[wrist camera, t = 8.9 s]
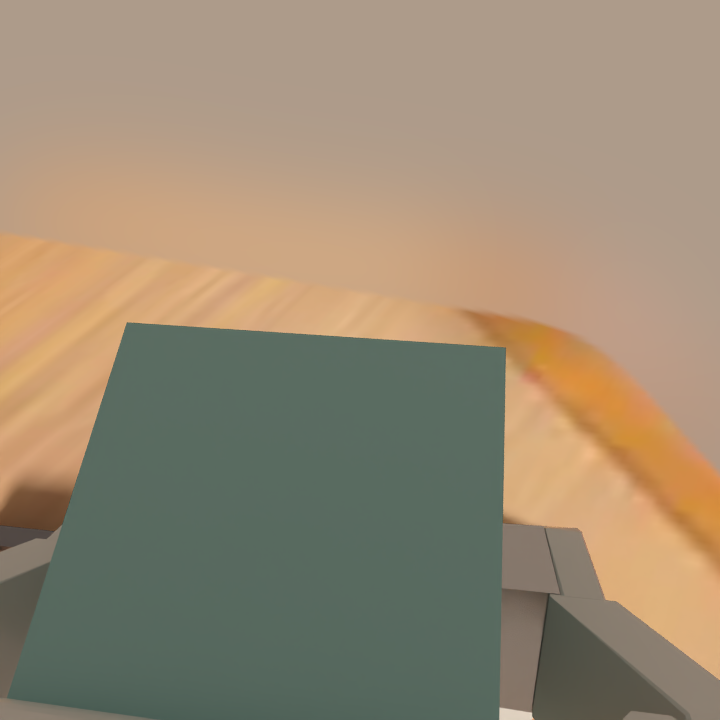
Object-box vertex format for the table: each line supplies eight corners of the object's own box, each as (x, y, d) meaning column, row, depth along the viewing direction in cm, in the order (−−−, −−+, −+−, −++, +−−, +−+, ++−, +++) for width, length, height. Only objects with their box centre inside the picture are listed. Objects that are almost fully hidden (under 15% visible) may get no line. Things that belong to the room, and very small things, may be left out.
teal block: (247, 715, 13) (-13, 754, 5) (280, 519, 15) (126, 321, 7) (444, 743, 13) (496, 832, 5) (455, 537, 14) (505, 348, 6)
